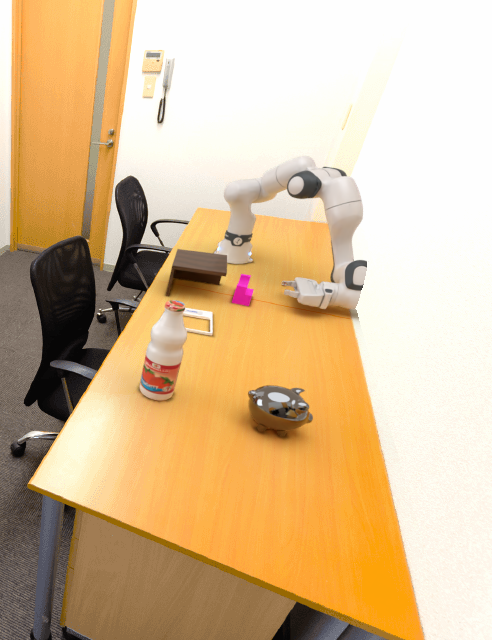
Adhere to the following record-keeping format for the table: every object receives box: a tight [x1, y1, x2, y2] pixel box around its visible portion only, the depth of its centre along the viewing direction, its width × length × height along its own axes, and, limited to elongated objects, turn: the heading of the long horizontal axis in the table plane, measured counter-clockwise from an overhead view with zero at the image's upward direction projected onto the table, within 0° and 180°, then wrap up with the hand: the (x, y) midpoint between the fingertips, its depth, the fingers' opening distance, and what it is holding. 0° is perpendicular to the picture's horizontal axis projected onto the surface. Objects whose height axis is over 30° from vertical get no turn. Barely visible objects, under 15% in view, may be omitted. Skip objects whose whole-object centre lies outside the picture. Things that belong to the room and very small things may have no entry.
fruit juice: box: [139, 299, 188, 401], centre depth 116 cm, size 9×9×28 cm
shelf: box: [165, 248, 228, 297], centre depth 181 cm, size 23×20×14 cm
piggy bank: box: [247, 384, 314, 437], centre depth 107 cm, size 11×15×12 cm
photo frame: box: [183, 307, 214, 336], centre depth 159 cm, size 15×1×18 cm
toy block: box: [231, 273, 255, 307], centre depth 175 cm, size 15×6×8 cm, turn 148°
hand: (282, 287), depth 169 cm, fingers open, 8 cm apart
